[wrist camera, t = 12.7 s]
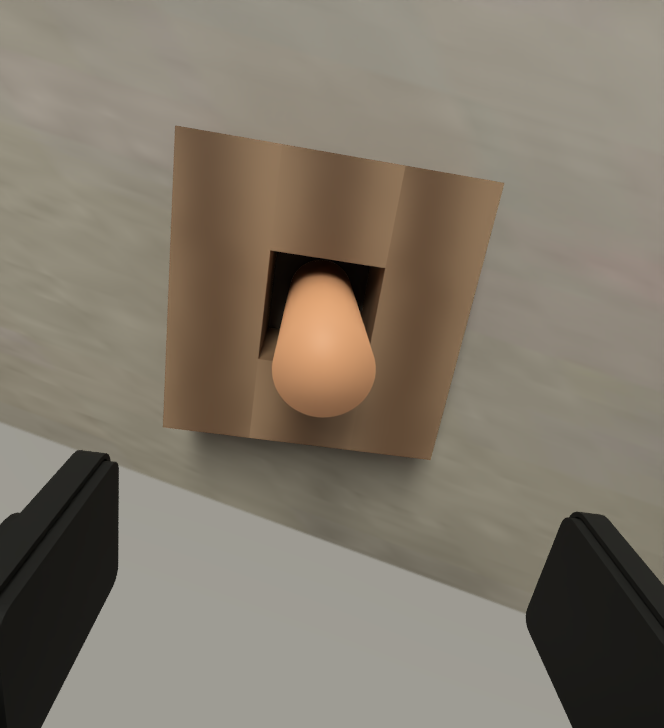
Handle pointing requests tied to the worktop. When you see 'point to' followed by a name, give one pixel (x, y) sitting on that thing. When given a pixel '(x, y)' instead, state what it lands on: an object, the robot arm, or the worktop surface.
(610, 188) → the worktop surface
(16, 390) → the worktop surface
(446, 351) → the socket block
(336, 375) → the peg
